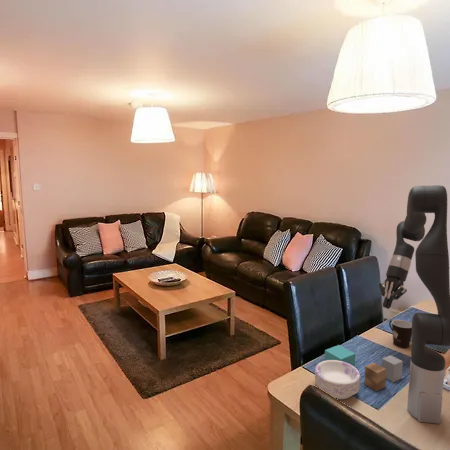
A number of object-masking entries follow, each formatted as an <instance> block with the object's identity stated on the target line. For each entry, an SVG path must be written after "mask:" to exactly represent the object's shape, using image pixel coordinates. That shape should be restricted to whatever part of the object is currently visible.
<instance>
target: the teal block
mask: <svg viewBox="0 0 450 450" xmlns="http://www.w3.org/2000/svg"><path fill="white" fill-rule="evenodd" d="M326 360H338V361H343V362H346V363H349V364H351V365H352V366H354V367H355V368H356V366H355V365H356V353H355V352H353V351H352V350H349V349H348V348H345V347H343V346H342V345H340V344H337V345H335V346H332V347H330V348H327V349H325V350H324V361H326Z"/></svg>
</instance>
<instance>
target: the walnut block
mask: <svg viewBox="0 0 450 450" xmlns="http://www.w3.org/2000/svg"><path fill="white" fill-rule="evenodd" d="M386 380H387V379H386V369H385V368H384V367H382V365H380V364H378V363H376V362H372V363H369V364H367V365H365V366H364V382H363V383H364V385H366V386H367V387H368V388H370V389H371V390H373V391H375V392H378V391H380V390H382V389H384V388H385V387H386Z"/></svg>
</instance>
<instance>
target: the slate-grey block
mask: <svg viewBox="0 0 450 450" xmlns="http://www.w3.org/2000/svg"><path fill="white" fill-rule="evenodd" d="M381 360H382V361H381V366H382V367H384V368H385V369H386V380H388V381H391V382H392V383H396V382H398V381H400V380H401V379H402V377H403V363H404V360H401V359H399V358H398V357H395V356H393V355H391V354H390V355H388V356H385V357H383V358H382V359H381Z"/></svg>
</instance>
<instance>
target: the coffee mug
mask: <svg viewBox="0 0 450 450" xmlns="http://www.w3.org/2000/svg"><path fill="white" fill-rule="evenodd" d="M388 325H389V328H390V330H391V332H392V341H393V345H394V346H395V347H396V348H400V349H408V348H410V346H411V341H412V322H410V321H408V320H404V319H394V320H389V322H388Z"/></svg>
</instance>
